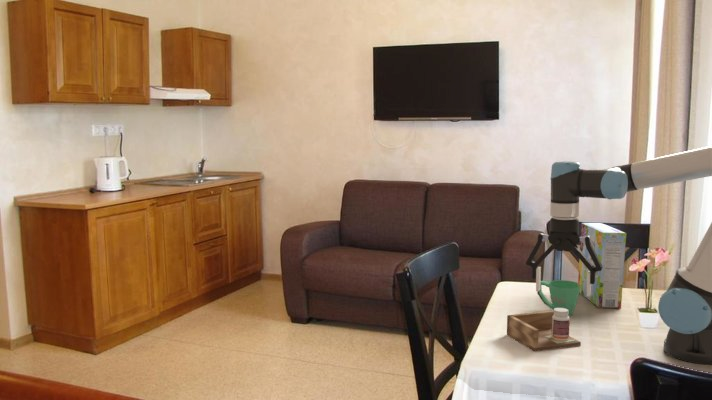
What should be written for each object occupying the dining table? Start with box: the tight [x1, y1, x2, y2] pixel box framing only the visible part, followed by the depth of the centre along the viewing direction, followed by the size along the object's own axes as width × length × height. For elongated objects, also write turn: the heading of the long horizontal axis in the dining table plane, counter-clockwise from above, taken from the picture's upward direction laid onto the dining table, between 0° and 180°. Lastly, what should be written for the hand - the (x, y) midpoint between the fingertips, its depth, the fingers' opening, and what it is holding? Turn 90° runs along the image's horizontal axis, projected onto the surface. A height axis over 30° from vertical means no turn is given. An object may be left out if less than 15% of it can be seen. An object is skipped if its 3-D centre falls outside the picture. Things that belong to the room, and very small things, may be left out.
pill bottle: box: [551, 308, 571, 341], centre depth 180 cm, size 5×5×8 cm
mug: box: [536, 279, 581, 317], centre depth 208 cm, size 15×10×10 cm
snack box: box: [577, 222, 627, 309], centre depth 222 cm, size 22×9×26 cm, turn 179°
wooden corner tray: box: [506, 309, 581, 353], centre depth 182 cm, size 14×15×6 cm
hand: (563, 292), depth 179 cm, fingers open, 13 cm apart
